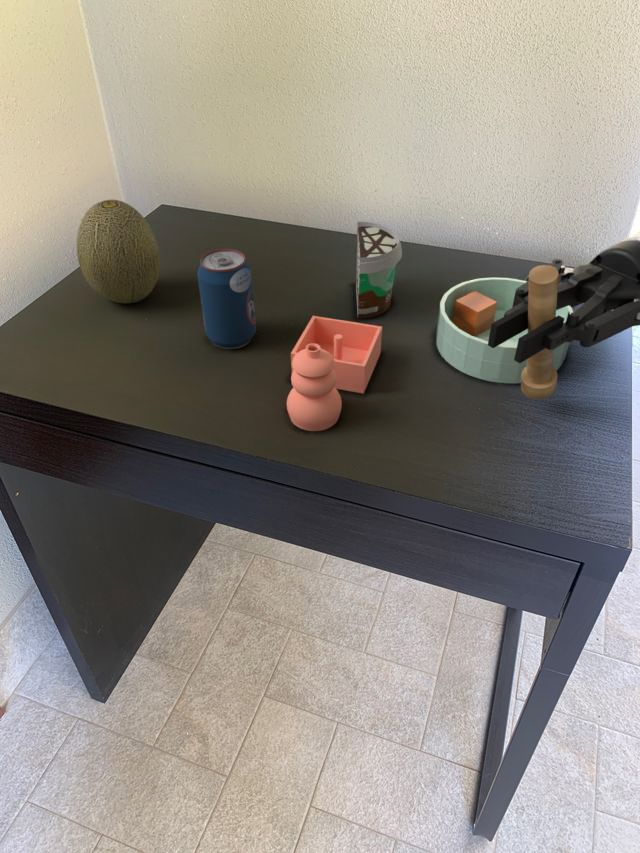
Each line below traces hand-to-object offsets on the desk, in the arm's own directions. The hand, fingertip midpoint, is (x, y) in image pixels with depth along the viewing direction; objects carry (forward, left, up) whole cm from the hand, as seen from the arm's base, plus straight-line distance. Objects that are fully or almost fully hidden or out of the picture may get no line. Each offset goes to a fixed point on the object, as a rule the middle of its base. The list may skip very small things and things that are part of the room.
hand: (506, 343), depth 70 cm
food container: (+30, -11, -14) cm, 35 cm away
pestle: (0, -9, -10) cm, 13 cm away
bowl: (+11, -16, -13) cm, 24 cm away
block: (+16, -16, -13) cm, 26 cm away
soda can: (+36, +11, -14) cm, 40 cm away
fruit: (+55, +17, -14) cm, 59 cm away
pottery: (+19, +8, -14) cm, 25 cm away
